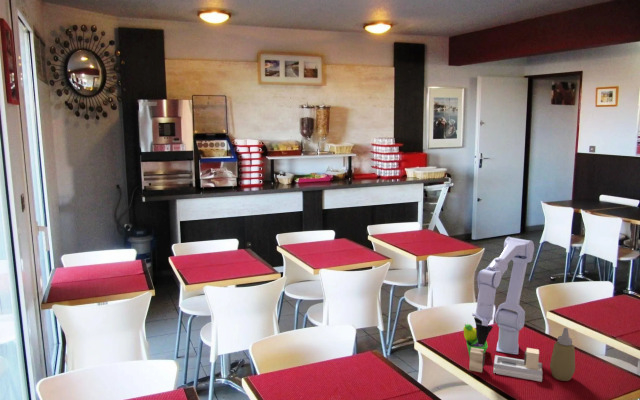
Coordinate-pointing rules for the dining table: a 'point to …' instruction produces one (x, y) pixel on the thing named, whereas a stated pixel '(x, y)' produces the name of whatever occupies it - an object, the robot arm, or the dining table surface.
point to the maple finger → (476, 359)
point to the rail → (520, 366)
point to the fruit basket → (472, 338)
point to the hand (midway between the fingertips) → (480, 341)
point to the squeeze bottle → (563, 358)
